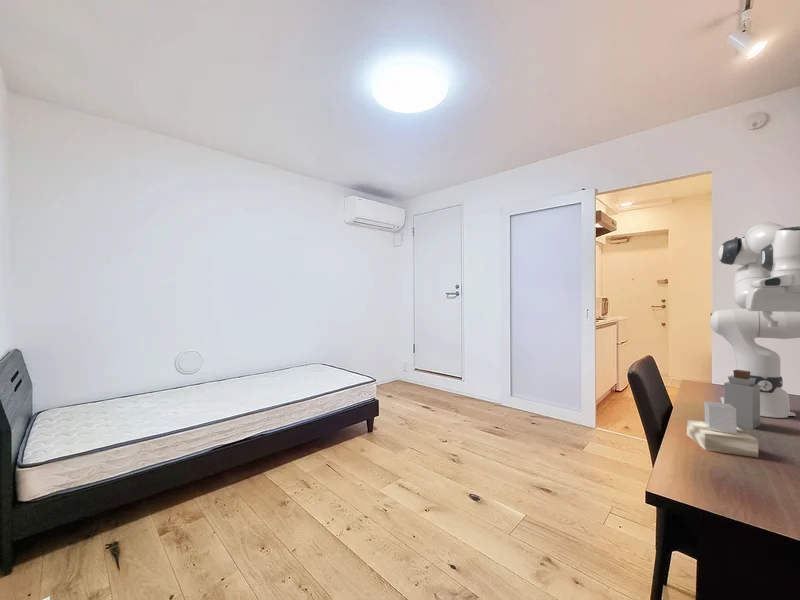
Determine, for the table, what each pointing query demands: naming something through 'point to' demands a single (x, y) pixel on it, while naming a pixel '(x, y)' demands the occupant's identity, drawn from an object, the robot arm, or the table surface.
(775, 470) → the table surface
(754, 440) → the cream square dish
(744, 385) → the perfume bottle
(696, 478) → the table surface
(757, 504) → the table surface
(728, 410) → the grey block
